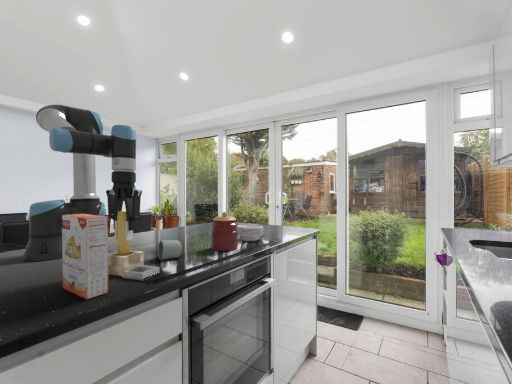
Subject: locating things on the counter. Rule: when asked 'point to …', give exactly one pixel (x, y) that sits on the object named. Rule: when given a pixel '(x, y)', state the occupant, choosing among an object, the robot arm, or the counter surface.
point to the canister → (224, 233)
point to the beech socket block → (124, 262)
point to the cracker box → (85, 254)
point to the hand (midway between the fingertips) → (123, 239)
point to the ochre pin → (122, 235)
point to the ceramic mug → (169, 249)
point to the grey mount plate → (140, 272)
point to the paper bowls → (250, 232)
